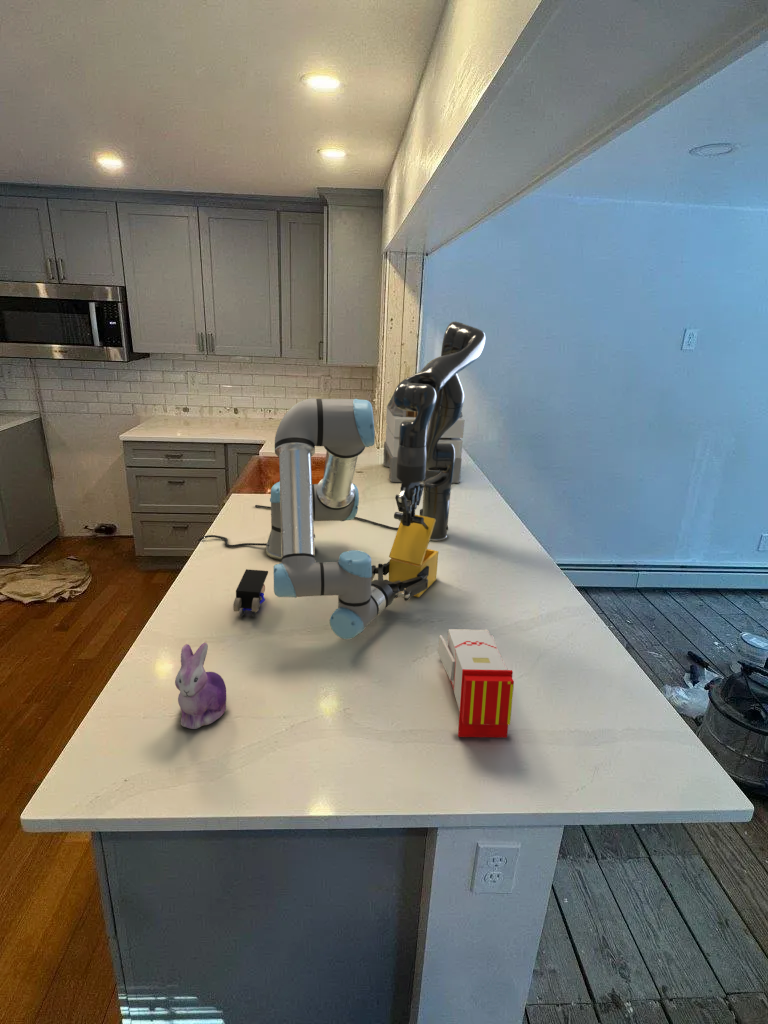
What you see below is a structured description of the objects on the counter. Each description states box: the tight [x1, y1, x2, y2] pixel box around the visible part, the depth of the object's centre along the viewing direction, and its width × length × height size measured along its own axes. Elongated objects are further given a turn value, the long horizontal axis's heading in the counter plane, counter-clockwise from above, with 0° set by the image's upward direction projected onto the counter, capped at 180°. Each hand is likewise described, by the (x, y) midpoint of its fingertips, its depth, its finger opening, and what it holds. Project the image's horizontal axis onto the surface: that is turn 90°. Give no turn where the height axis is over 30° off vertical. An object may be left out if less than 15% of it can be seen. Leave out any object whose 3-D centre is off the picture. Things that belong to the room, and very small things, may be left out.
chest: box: [388, 548, 439, 598], centre depth 162 cm, size 13×10×9 cm
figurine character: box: [232, 568, 269, 617], centre depth 147 cm, size 7×8×15 cm
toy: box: [437, 628, 515, 738], centre depth 117 cm, size 12×13×30 cm
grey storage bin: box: [383, 393, 465, 484], centre depth 268 cm, size 34×33×41 cm
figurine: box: [174, 642, 227, 730], centre depth 106 cm, size 9×10×15 cm
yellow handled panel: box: [388, 511, 436, 566], centre depth 154 cm, size 14×10×9 cm
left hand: (410, 566), depth 160 cm, fingers closed on chest, 9 cm apart
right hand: (408, 523), depth 152 cm, fingers closed on yellow handled panel, 2 cm apart
